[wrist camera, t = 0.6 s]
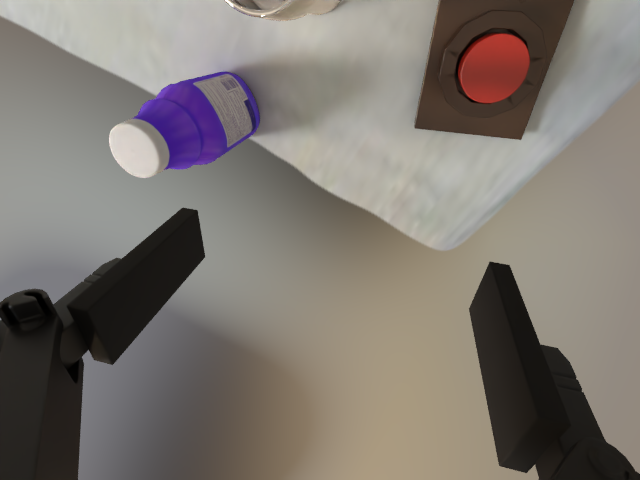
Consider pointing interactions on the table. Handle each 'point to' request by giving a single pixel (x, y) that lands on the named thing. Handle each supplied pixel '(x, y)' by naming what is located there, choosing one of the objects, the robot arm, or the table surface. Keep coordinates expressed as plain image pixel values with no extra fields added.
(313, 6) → the beer glass
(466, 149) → the table surface
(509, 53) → the button
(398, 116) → the table surface
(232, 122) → the bottle
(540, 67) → the box
